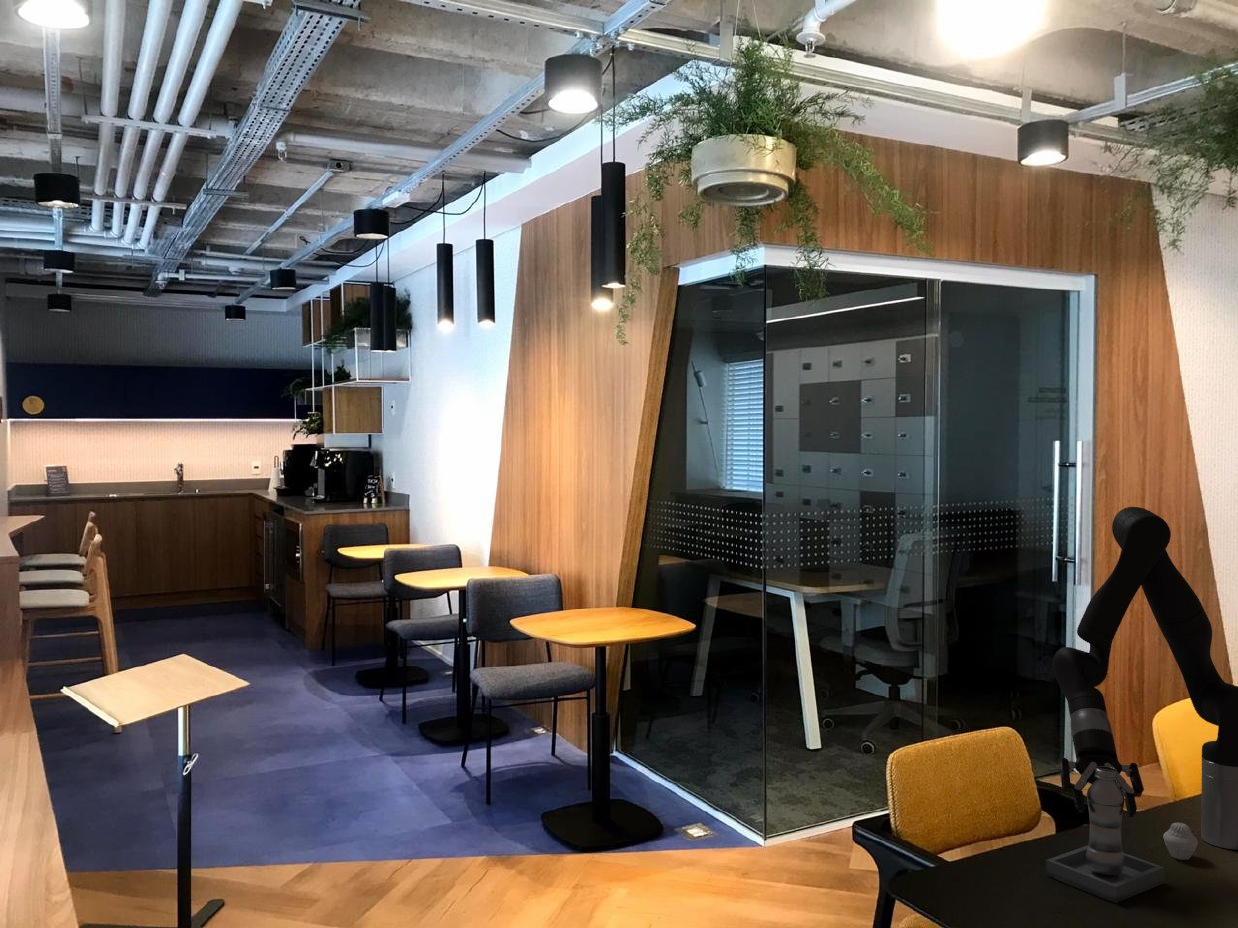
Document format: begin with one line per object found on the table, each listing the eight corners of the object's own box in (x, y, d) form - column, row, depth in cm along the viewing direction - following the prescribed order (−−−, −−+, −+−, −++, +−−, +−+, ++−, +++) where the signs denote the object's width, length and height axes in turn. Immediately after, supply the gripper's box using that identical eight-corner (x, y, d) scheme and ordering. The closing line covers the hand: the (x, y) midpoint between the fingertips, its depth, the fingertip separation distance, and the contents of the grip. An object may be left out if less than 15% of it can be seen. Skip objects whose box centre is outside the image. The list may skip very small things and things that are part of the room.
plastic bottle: (1129, 881, 185) (1130, 775, 186) (1090, 877, 187) (1092, 772, 187) (1118, 868, 192) (1120, 765, 192) (1081, 864, 193) (1083, 762, 193)
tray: (1095, 857, 199) (1095, 842, 199) (1164, 882, 187) (1164, 867, 187) (1046, 875, 191) (1046, 859, 191) (1115, 903, 179) (1115, 886, 179)
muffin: (1157, 855, 200) (1157, 821, 200) (1171, 848, 204) (1171, 814, 204) (1189, 865, 195) (1190, 830, 195) (1203, 858, 199) (1203, 823, 199)
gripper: (1057, 724, 198) (1070, 801, 187) (1135, 729, 194) (1152, 807, 183) (1051, 743, 203) (1063, 819, 192) (1127, 748, 200) (1143, 825, 189)
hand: (1107, 813), depth 188 cm, fingers open, 8 cm apart
